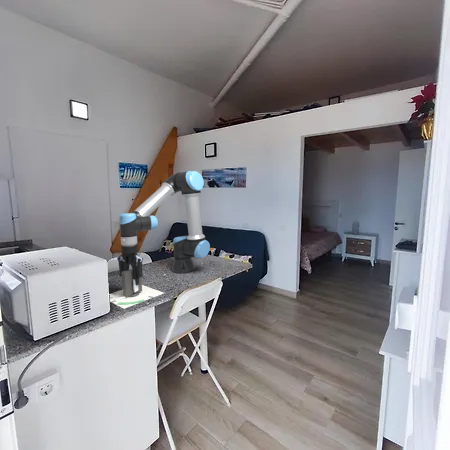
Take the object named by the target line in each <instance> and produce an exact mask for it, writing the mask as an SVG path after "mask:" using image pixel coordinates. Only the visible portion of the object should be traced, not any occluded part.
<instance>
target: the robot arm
mask: <svg viewBox="0 0 450 450" xmlns="http://www.w3.org/2000/svg"><path fill="white" fill-rule="evenodd" d="M204 184H205V181H204V178H203V175H201V174H200V172H198V171H196V170H189V171H182V172H181V171H180V172H179V171H178V172H176V173H173V174H172V175H170V176H169V177H168V178H166V179H165V180H164V181H163V182H162V183H161V186H160V187H159V188H158V189H157V190H156V191H155V192H154V193H152V194H151V195H150V196H149V197H148V198H146V199H145V201H143V202H142V203H141V204H139V206H137V207H136V208H135V210H134V211H132V212H128V213H127V212H126V213H125V212H123V213H120V215H119V219H118V221H119V223H118V224H119V232H120V233H119V234H120V244H121V247H120V249H121V255H122V256H121V257H119V256H118V257H117V261H118V269H119V276H120V277H121V278H122V275H121V272H123V271H127V270H129V265H131V266H132V270H133V275H134V279H133V287H134V292H136V291H138V285H139V278H140V277H141V278H142V277H143V275H144V274H143V261H144V257H140V256H139V257H138V255H137V252H138V251H139V248H138V232H145V231H152V230H156V229H157V228H158V225H159V223H158V222H159V221H158V218H157V216H155V215H151V214H152V213H154V212H155V210H157V209H158V208H159V207H160V206H161V205H162V204H163V203H164V202H165V201H166V200H167V199H168V198H170V197H172V196H174V195H175V194H176V193H178V192H179V193H180V192H181V195H182V196H183V197H184V202H185V203H184V204H185V205H184V206H185V212H186V213H185V214H186V223H187V231H188V235H183V236H177V237H174V238H173V243H172V245H173V259H174V260H173V264H172V267H171V271H172V273H175V274H187V273H191V272H194V271H195V270H196V269H195V267H196V266H195V264H194V260H193V258H195V259H204V258H206V257H207V255H208V254H209V253H210V250H211V249H210V248H211V245H210V242H209V241H208V240H206V236H205V234H203V227H202V226H203V225H202V217H201V207H200V205H201V204H200V198H199V197H200V195H201V194H202V193H201V192H202V191H201V190H203V188H204ZM138 253H139V252H138ZM136 260H137V261H136ZM133 263H134V264H133Z"/></svg>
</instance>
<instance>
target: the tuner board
mask: <svg viewBox="0 0 450 450" xmlns="http://www.w3.org/2000/svg"><path fill="white" fill-rule="evenodd" d="M109 295H110V301H109V302H110V303H112V304H114V305H116V306H117V307H120V308H122V309H124V310H125V309H127V308H129V307H132V306H135V305H137V304H140V303H144V302H146V301H147V300H151V299H153V298H155V297H158V296H160V295H164V292H163V291H160V290H158V289H154V288H151V287H150V286H146V285H144V284H142V291H141V292H139V295H137V296H134V297H126V298H123V299H120V300H117V301H115V299H117V298H120V297H123V289H121V290H117V291H115V292H112V293H109Z"/></svg>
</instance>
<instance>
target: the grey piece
mask: <svg viewBox="0 0 450 450" xmlns="http://www.w3.org/2000/svg"><path fill="white" fill-rule="evenodd" d="M121 275H122V277H121V285H122V290H123V297H120V298H117V299H115V301H117V300H120V299H123V298H126V297H134V296H137V295H139V292H141V291H142V285H143V281H142V277H140V278H139V285H138V291H136V292H134V287H133V279H134V275H133V270H132V269H130V270H127V271H123V272H121Z"/></svg>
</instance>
